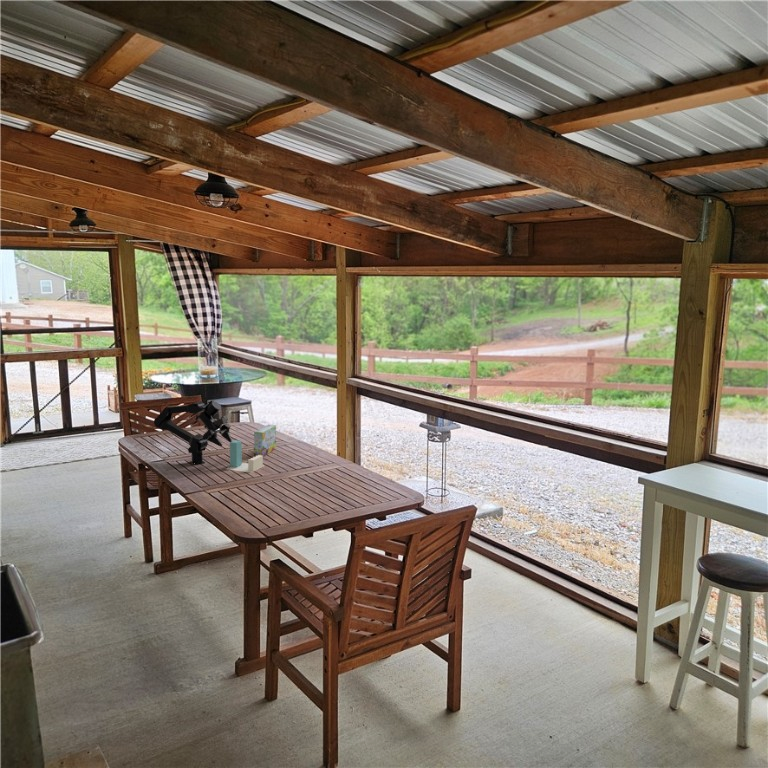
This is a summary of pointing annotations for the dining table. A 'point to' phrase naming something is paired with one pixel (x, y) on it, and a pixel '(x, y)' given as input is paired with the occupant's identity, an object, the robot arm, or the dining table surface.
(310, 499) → the dining table surface
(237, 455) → the tall teal pillar
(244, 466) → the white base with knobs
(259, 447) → the snack box
